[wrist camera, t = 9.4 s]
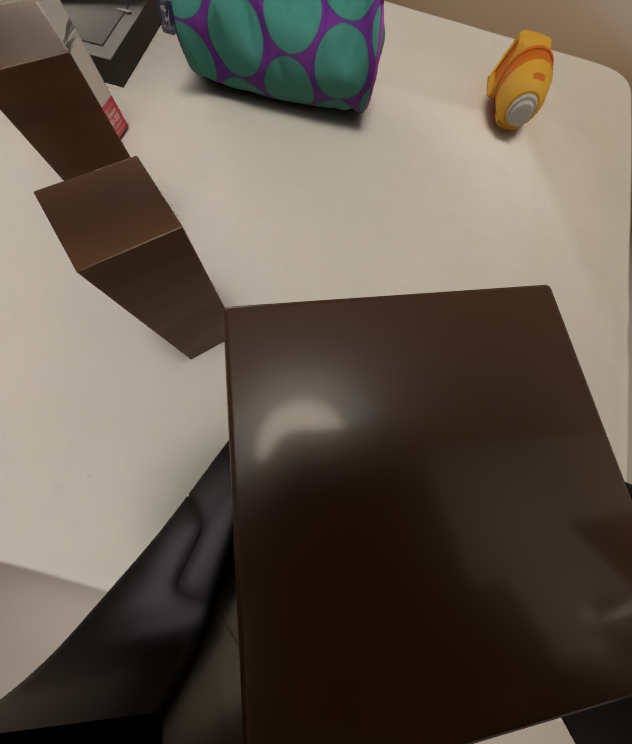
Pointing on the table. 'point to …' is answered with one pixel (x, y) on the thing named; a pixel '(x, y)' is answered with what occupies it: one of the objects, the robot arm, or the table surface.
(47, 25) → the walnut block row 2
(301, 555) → the walnut block loose
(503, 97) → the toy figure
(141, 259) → the walnut block
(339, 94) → the pencil case
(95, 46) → the picture frame
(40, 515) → the table surface
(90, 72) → the ink box
